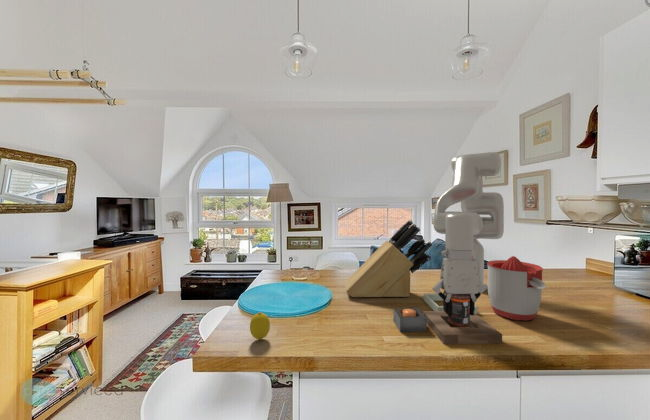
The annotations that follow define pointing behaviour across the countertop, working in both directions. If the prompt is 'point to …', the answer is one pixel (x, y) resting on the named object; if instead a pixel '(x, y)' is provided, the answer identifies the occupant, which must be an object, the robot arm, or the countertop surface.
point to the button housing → (410, 321)
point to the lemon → (259, 326)
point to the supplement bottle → (460, 310)
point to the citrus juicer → (515, 288)
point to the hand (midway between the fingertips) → (458, 313)
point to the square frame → (462, 330)
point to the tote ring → (435, 297)
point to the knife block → (390, 266)
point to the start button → (409, 312)
